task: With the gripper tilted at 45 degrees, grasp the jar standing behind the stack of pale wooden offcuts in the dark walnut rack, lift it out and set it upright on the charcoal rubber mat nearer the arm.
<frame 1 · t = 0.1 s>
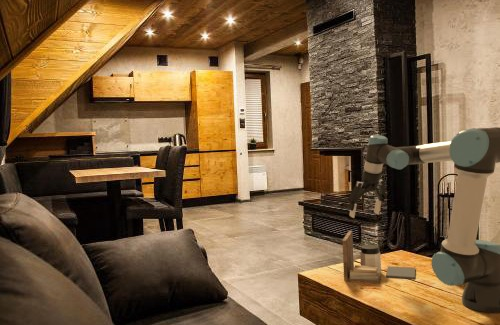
hand: (364, 214, 192), 28 cm above the table, tool tilted 20°, fingers open, 13 cm apart
rubber mat: (400, 273, 194), on the table
jar: (371, 272, 198), on the table
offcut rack: (367, 275, 194), on the table
wooden mug: (458, 282, 179), on the table
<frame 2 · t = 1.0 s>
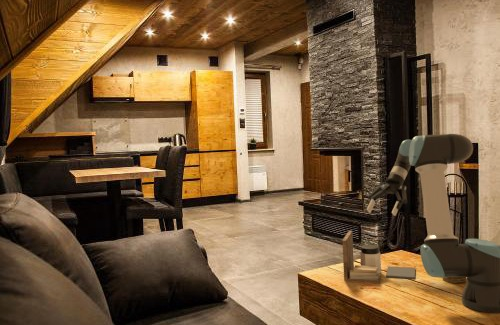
hand: (380, 212, 203), 26 cm above the table, tool tilted 45°, fingers open, 13 cm apart
nothing on the table moved.
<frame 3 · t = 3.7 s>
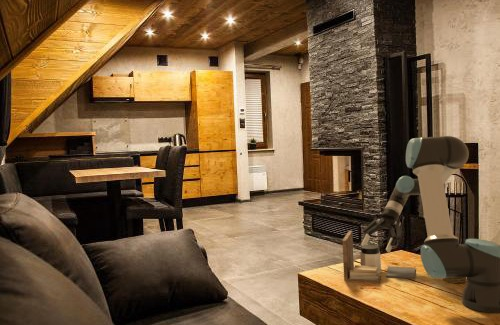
hand: (374, 248, 201), 10 cm above the table, tool tilted 45°, fingers open, 13 cm apart
nothing on the table moved.
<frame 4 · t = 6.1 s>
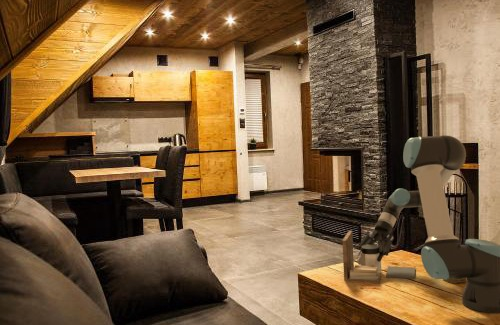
hand: (366, 264, 196), 4 cm above the table, tool tilted 45°, fingers closed on jar, 8 cm apart
jar: (371, 272, 198), on the table, touching gripper
everything else where it was.
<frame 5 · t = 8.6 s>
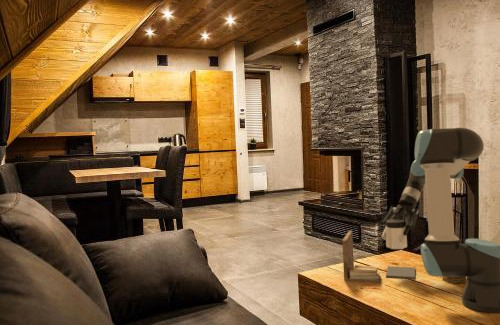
hand: (391, 239, 191), 16 cm above the table, tool tilted 45°, fingers closed on jar, 8 cm apart
jar: (396, 247, 194), point 12 cm above the table, touching gripper
everything else where it was.
when the fingers open (6 cm above the table, at t = 11.1 s): jar drops 1 cm, resting on rubber mat.
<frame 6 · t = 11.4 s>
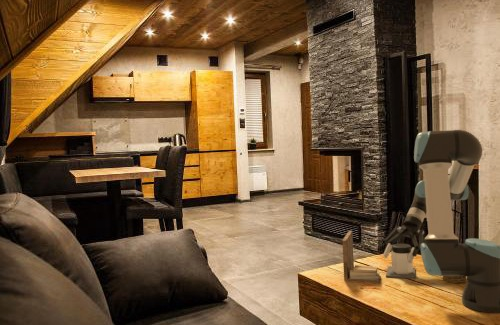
hand: (396, 259, 192), 7 cm above the table, tool tilted 45°, fingers open, 11 cm apart
jar: (402, 272, 194), point 1 cm above the table, touching rubber mat
everything else where it was.
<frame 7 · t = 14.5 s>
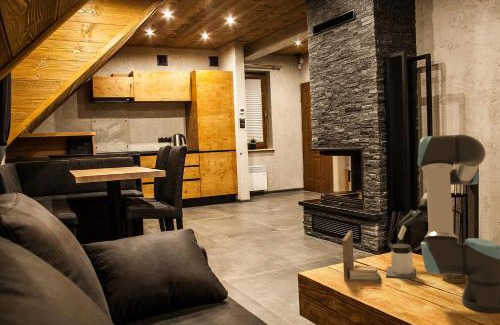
hand: (412, 240, 200), 13 cm above the table, tool tilted 45°, fingers open, 13 cm apart
nothing on the table moved.
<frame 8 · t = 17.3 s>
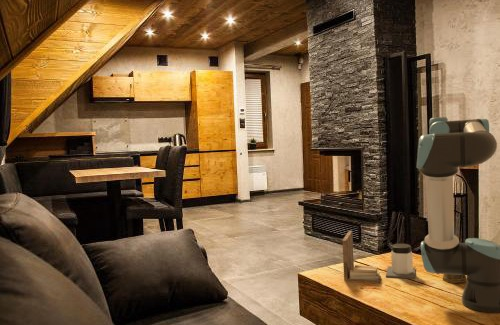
hand: (441, 200, 191), 33 cm above the table, tool pointing down, fingers open, 13 cm apart
nothing on the table moved.
at the end: jar inside the target area on the rubber mat (0.8 cm from its centre), point 0.6 cm above the rubber mat's base; jar tilted 0°; the gripper is holding nothing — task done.
